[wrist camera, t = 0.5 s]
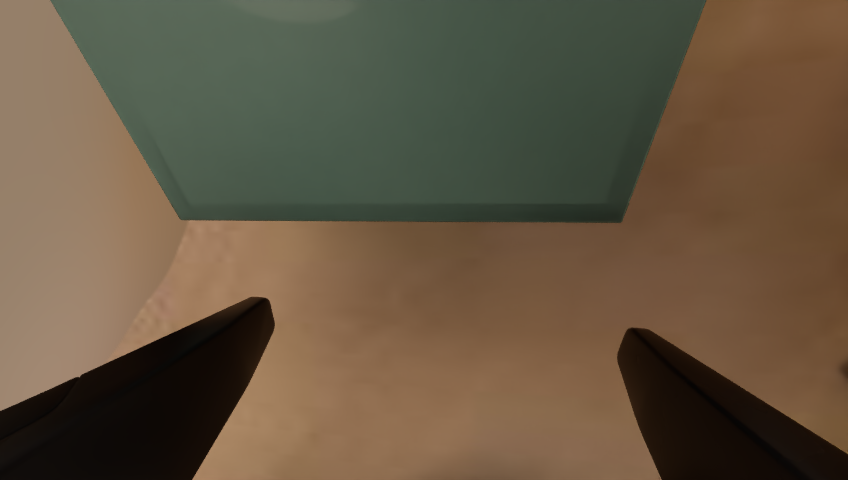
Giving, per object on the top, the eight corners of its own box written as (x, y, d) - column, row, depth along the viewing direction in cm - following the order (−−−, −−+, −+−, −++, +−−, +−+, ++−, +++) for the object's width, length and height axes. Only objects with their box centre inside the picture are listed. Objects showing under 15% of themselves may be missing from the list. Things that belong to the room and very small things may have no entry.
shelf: (529, 95, 17) (622, 223, 7) (326, 101, 18) (179, 221, 8) (548, -43, 14) (758, -131, 4) (299, -26, 15) (8, -66, 5)
